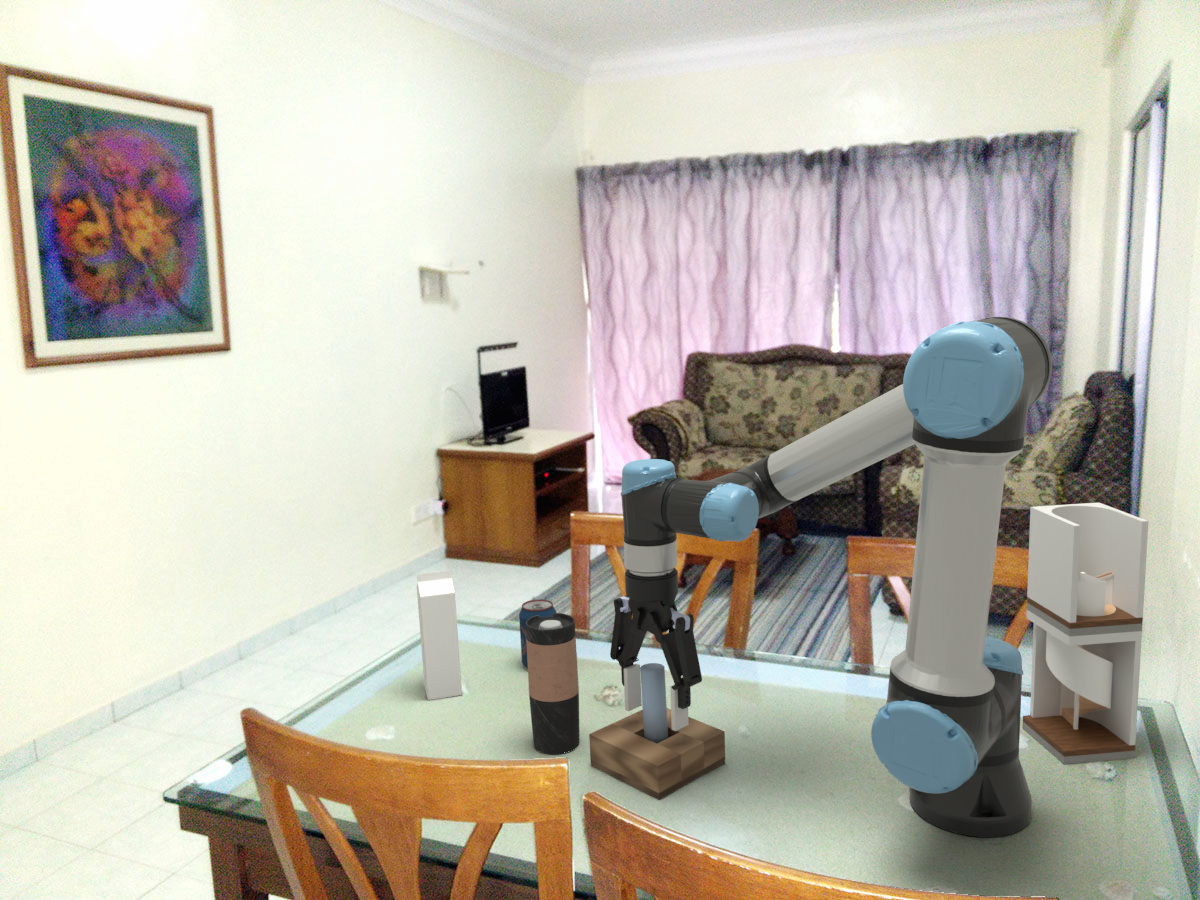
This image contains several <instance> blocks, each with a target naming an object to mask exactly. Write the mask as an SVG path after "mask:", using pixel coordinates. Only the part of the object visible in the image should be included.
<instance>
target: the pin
mask: <svg viewBox="0 0 1200 900" xmlns="http://www.w3.org/2000/svg"><path fill="white" fill-rule="evenodd" d="M665 669H666V668H665V665H663V664H662V663H659V662H658V663H656V662H652V663H645V664H643V665H640V676H641V704H642V706H641V707H642V710H643V724H644V738H646V739H648V740H650V741H652V742H655V743H659V742H661V741H663V740H665V739H667V738H668V725H667V708H668V707H667V706H668V705H667V691H666V688H667V687H666V671H665Z"/></svg>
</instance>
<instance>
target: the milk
mask: <svg viewBox="0 0 1200 900" xmlns="http://www.w3.org/2000/svg"><path fill="white" fill-rule="evenodd" d="M416 579H417V580H416V581H417V583H416V584H417V585H416V594H417V596H416V597H417V605H418V606H417V609H418V619H419V620H418V621H419V633H420V644H421V646H420V647H421V657H422V659H421V661H422V670H423V671H422V673H423V683H424V689H425V693H426V694H425V695H426V697H427V700H428V701H434V700H439V699H446V698H447V697H448V698H453V697H452V696H454V697H459V696H458V695H460V696H463V688H462V675H461V673H462V672H461V659H460V658H461V657H460V646H459V645H460V643H459V631H458V617H457V602H456V591H455V587H454V581H453V572H452V570H450V569H448V570H438V571H430V572H429V571H428V572H422V573H418V574H417V576H416Z"/></svg>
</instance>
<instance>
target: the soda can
mask: <svg viewBox="0 0 1200 900" xmlns="http://www.w3.org/2000/svg"><path fill="white" fill-rule="evenodd" d="M554 613H557V610H556V608H555V607H554V603H553V601H551V600H548V599H531V600H527V601H525V602H523V603H522V604H521V609H520V611H519V613H518V617H519V635H520V651H521V653H520V656H521V663H522V664H523V665H524V667H525V669H527V670H528V662H527V641H526V621H527V620H528V619H529V618H531V617H533V616H536V615H539V616H540V617H549V616H552V615H553V614H554Z"/></svg>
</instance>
